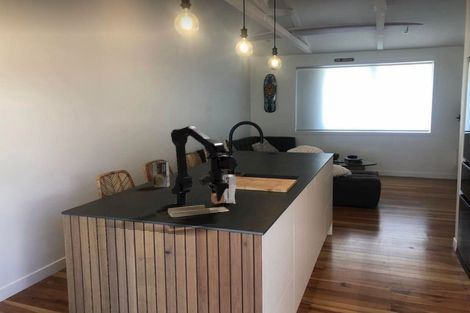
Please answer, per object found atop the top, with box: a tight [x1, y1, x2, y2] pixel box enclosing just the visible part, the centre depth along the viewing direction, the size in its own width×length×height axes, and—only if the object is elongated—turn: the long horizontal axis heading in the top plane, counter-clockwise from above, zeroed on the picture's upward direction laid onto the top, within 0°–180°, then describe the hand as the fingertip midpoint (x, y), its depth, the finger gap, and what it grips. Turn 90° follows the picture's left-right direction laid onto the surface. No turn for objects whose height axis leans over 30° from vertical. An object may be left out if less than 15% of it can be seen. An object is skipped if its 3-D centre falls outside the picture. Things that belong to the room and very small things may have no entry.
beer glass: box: [222, 174, 237, 204], centre depth 205 cm, size 7×7×15 cm
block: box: [210, 192, 225, 205], centre depth 189 cm, size 5×5×4 cm
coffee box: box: [152, 160, 170, 188], centre depth 252 cm, size 9×6×16 cm
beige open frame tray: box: [167, 204, 230, 218], centre depth 186 cm, size 8×28×3 cm, turn 113°
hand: (216, 200), depth 189 cm, fingers closed on block, 5 cm apart
